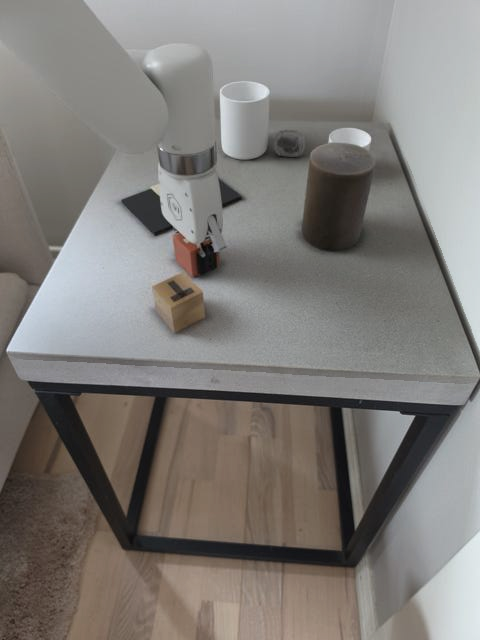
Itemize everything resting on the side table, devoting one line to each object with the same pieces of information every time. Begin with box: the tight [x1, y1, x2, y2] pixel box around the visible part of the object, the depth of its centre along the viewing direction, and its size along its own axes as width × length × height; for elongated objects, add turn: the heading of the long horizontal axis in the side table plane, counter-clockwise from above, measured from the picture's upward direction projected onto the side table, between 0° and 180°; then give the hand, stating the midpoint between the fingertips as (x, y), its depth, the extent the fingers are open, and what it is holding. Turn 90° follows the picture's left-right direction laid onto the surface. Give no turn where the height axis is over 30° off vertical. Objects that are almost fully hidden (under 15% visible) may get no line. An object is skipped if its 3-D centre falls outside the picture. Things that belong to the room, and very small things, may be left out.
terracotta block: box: [172, 232, 220, 278], centre depth 74 cm, size 5×5×5 cm
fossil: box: [272, 129, 306, 158], centre depth 97 cm, size 6×3×5 cm, turn 89°
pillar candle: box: [301, 142, 377, 252], centre depth 75 cm, size 10×10×15 cm
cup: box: [327, 127, 372, 151], centre depth 91 cm, size 8×10×7 cm
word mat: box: [121, 178, 242, 236], centre depth 87 cm, size 18×13×1 cm
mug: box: [219, 80, 271, 161], centre depth 96 cm, size 10×12×12 cm
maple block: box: [151, 271, 206, 334], centre depth 67 cm, size 5×5×5 cm
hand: (197, 260), depth 76 cm, fingers closed on terracotta block, 5 cm apart
